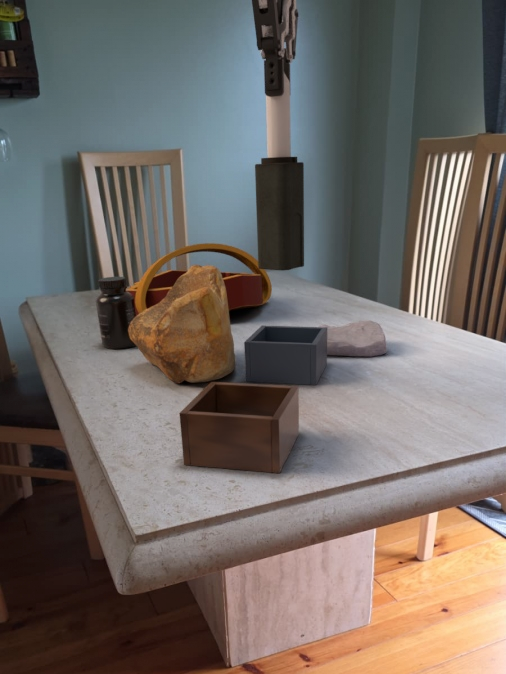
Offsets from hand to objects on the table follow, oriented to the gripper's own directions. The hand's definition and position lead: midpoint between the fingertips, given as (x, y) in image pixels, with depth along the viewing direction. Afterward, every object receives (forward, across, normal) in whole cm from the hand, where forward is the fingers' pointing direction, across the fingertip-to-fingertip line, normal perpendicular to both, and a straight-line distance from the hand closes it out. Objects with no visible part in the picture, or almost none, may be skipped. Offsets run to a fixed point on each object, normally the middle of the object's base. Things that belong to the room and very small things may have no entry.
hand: (278, 96), depth 76 cm
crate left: (+37, -23, -1) cm, 43 cm away
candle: (+20, 0, 0) cm, 20 cm away
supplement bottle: (+37, +17, +35) cm, 53 cm away
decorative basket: (+37, +46, +28) cm, 66 cm away
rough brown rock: (+37, +6, +18) cm, 41 cm away
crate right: (+37, +6, +1) cm, 37 cm away
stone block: (+37, +20, -7) cm, 43 cm away
